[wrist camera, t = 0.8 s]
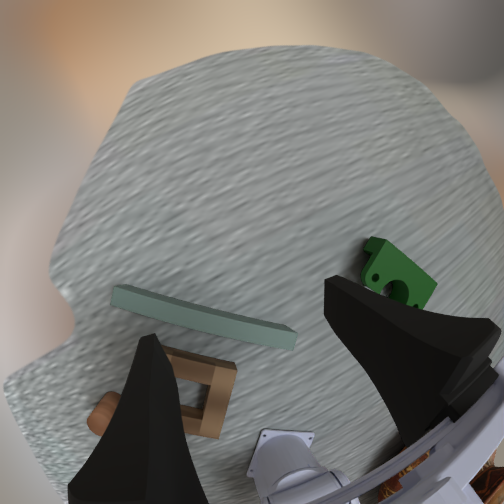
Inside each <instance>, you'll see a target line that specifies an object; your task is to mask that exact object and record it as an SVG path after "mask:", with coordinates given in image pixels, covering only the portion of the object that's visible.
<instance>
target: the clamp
mask: <svg viewBox="0 0 504 504" xmlns="http://www.w3.org/2000/svg"><path fill="white" fill-rule="evenodd" d="M363 250H364V251H365V252H366V253H367V254H369V255H370V256H371V257H370V259H369V260H368V262H367V264H366V265H365V267H364V268H363V270H362V272H361V281H362V282H363V285H365V286H366V287H368V288H370V289H371V290H373V291H374V292H376V293H378V294H380V293H381V291H382V289H383V287H384V286H385V285H386V284H387V283H388V282H390V281H392V283H393V288H392V292H391V294H390V296H389V298H390V299H392V300H395V301H397V302H400V303H403V304H406V305H409V306H412V307H415V308H418V309H422V310H423V308H424V307H425V305H426V303H427V302H428V300H429V298H430V296H431V295H432V293H433V291H434V290H435V288H436V286H437V284H438V283H437V282H435V281H434V280H433V279H432V278H431V277H430V276H429V275H428V274H427V273H425V272H424V271H423V270H422V269H421V268H420V267H419V266H418V265H416V264H415V263H414V262H413V261H412V260H411V259H409V258H408V257H407V256H406V255H405V254H404V253H402V252H401V251H400V250H399V249H398V248H396V247H395V246H394V245H393V244H392V243H390V242H389V241H388V240H386V239H382V238H377V237H372V236H371V237H370V239H369V240H368V242H367V244H366V246H365V247H364V249H363Z"/></svg>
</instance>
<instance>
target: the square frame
mask: <svg viewBox="0 0 504 504" xmlns="http://www.w3.org/2000/svg"><path fill="white" fill-rule="evenodd" d="M161 346H162V348H163V350H164V351H165V353H166V355H167V357H168V359H169V361H170V362H171V364H172V367H173V371H174V375H175V377H177V378H181V379H185V380H189V381H194V382H198V383H202V384H207V385H208V387H207V391H206V395H205V399H204V403H203V408H202V409H198V408H194V407H189V406H185V405H181V404H180V408H181V415H182V421H183V428H184V433H188V434H193V435H198V436H203V437H209V438H215V439H219V436H220V432H221V429H222V425H223V422H224V418H225V414H226V411H227V407H228V403H229V400H230V396H231V392H232V389H233V385H234V381H235V378H236V374H237V368H236V365H235V363H234V362H230V361H225V360H220V359H216V358H211V357H207V356H203V355H198V354H194V353H190V352H186V351H182V350H179V349H175V348H171V347H167V346H164V345H161Z"/></svg>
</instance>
